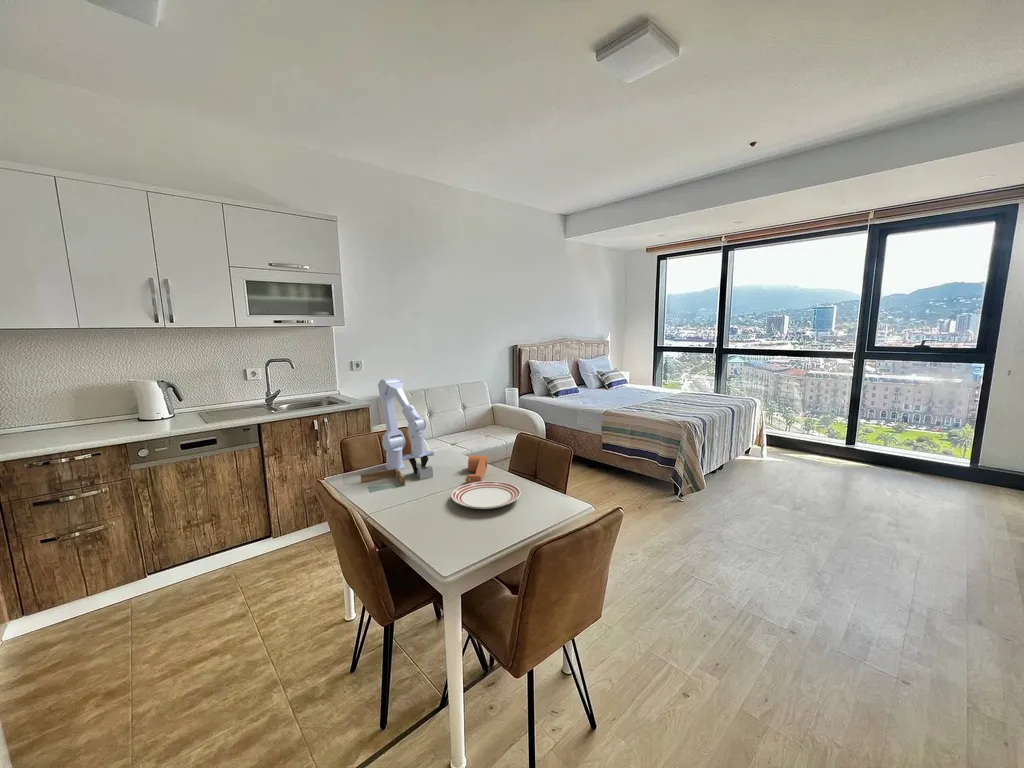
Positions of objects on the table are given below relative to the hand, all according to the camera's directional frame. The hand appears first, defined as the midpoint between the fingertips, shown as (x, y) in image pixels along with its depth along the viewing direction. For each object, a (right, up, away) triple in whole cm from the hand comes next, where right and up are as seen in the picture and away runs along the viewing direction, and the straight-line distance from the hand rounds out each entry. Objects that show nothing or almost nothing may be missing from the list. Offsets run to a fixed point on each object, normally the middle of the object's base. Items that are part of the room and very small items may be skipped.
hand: (419, 472), depth 185 cm
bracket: (+2, -1, 0) cm, 3 cm away
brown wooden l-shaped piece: (-14, -3, -10) cm, 17 cm away
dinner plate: (+33, -5, -27) cm, 43 cm away
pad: (-13, -3, -12) cm, 18 cm away
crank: (+27, -2, -1) cm, 27 cm away
